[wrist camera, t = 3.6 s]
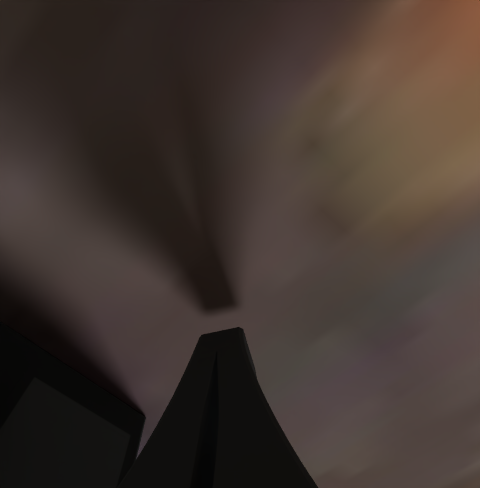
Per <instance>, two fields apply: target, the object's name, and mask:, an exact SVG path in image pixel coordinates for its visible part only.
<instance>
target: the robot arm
mask: <svg viewBox="0 0 480 488" xmlns="http://www.w3.org/2000/svg"><path fill="white" fill-rule="evenodd" d="M117 488H318V487H317V485H316V484H315V482H314V481H313V479H312V478H311V476H310V475H309V473H308V472H307V470H306V468H305V467H304V465H303V464H302V462H301V461H300V459H299V457H298V456H297V454H296V452H295V451H294V449H293V447H292V446H291V444H290V443H289V441H288V439H287V437H286V436H285V434H284V432H283V430H282V429H281V427H280V425H279V423H278V421H277V420H276V418H275V416H274V414H273V412H272V410H271V408H270V406H269V404H268V402H267V400H266V398H265V396H264V394H263V392H262V390H261V388H260V385H259V383H258V381H257V377H256V372H255V367H254V364H253V360H252V357H251V354H250V350H249V347H248V344H247V341H246V337H245V334H244V331H243V329H242V328H240V327H237V328H232V329H227V330H222V331H218V332H213V333H208V334H203V335H201V337H200V338H199V340H198V343H197V345H196V347H195V350H194V352H193V354H192V357H191V359H190V361H189V363H188V366H187V368H186V370H185V372H184V374H183V376H182V378H181V380H180V382H179V385H178V387H177V389H176V391H175V393H174V395H173V397H172V399H171V401H170V402H169V404H168V406H167V408H166V410H165V412H164V413H163V415H162V417H161V419H160V421H159V422H158V424H157V426H156V428H155V430H154V431H153V433H152V435H151V436H150V438H149V440H148V441H147V443H146V445H145V446H144V448H143V450H142V451H141V453H140V454H139V456H138V457H137V459H136V461H135V462H134V464H133V465H132V467H131V468H130V470H129V471H128V473H127V474H126V476H125V477H124V478H123V480H122V481H121V483H120V484H119V486H118V487H117Z"/></svg>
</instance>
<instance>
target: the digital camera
mask: <svg viewBox="0 0 480 488" xmlns="http://www.w3.org/2000/svg"><path fill="white" fill-rule="evenodd" d="M145 420H146V418H145V417H144V416H143V415H141V414H140V413H138V412H137V411H135V410H134V409H132V408H131V407H129V406H128V405H126V404H125V403H123V402H122V401H120V400H119V399H117V398H116V397H114V396H113V395H111V394H110V393H108V392H107V391H105V390H104V389H102V388H100V387H99V386H97V385H96V384H94V383H93V382H91V381H90V380H88V379H87V378H85V377H84V376H82V375H81V374H79V373H78V372H76V371H75V370H73V369H72V368H70V367H69V366H67V365H66V364H64V363H62V362H61V361H59V360H58V359H56V358H55V357H53V356H52V355H50V354H49V353H47V352H46V351H44V350H43V349H41V348H40V347H38V346H37V345H35V344H34V343H32V342H31V341H29V340H28V339H26V338H24V337H23V336H21V335H20V334H18V333H17V332H15V331H14V330H12V329H11V328H9V327H8V326H6V325H5V324H3V323H1V322H0V488H117V487H118V486H119V484H120V483H121V481H122V480H123V478H124V477H125V476H126V474H127V473H128V471H129V470H130V468H131V467H132V465H133V464H134V462H135V461H136V458H137V454H138V449H139V445H140V441H141V437H142V432H143V428H144V424H145Z"/></svg>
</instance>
